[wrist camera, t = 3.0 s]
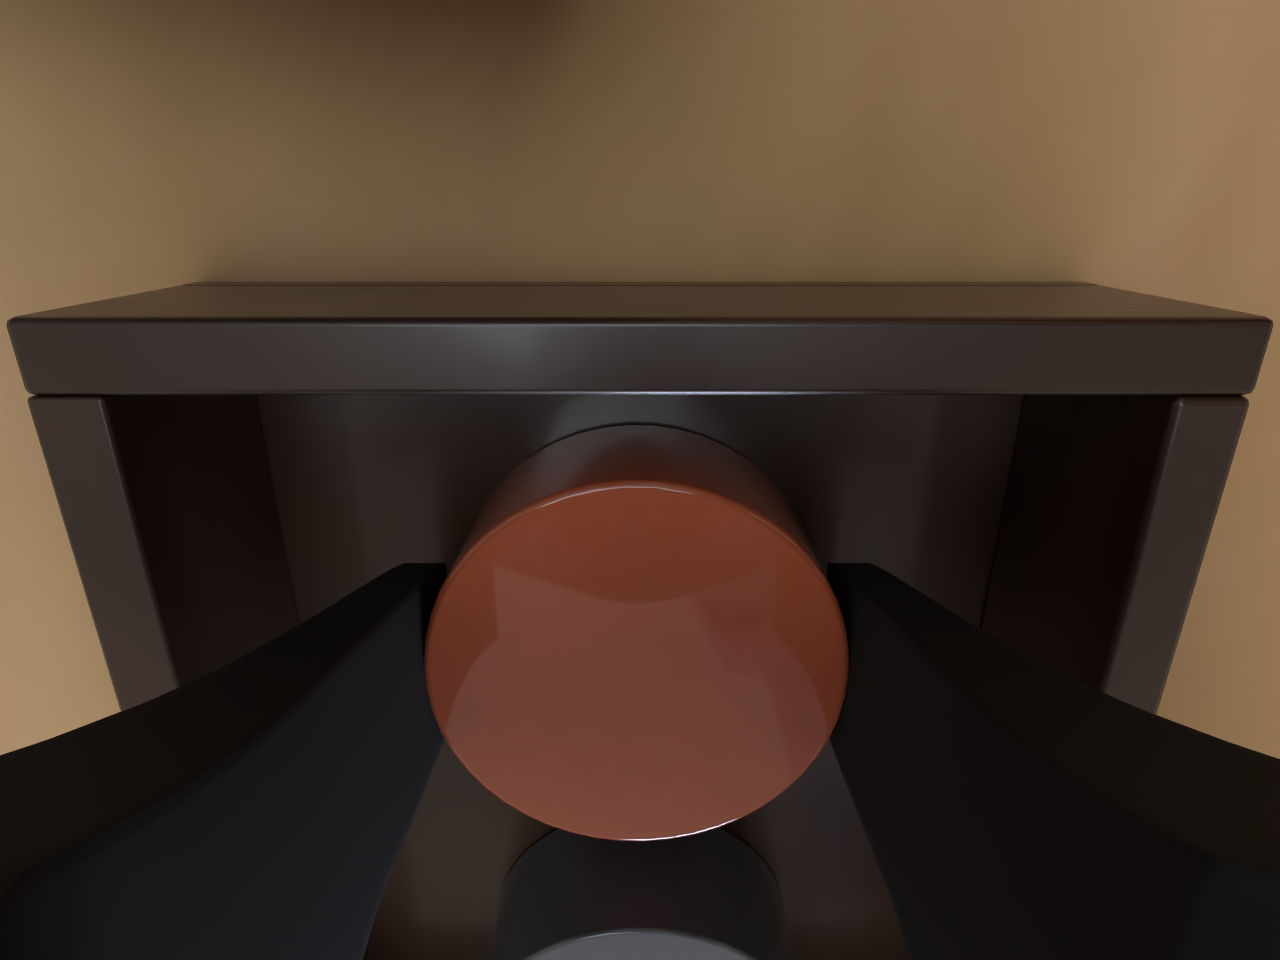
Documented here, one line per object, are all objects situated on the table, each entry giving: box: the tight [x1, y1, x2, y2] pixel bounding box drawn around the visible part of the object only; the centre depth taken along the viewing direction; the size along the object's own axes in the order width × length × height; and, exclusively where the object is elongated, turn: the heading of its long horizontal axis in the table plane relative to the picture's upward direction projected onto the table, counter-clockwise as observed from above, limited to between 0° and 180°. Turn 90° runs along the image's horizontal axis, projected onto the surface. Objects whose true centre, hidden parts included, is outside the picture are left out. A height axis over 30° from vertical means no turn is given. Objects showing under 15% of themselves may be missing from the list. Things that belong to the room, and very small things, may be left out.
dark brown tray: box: [7, 282, 1273, 960], centre depth 12 cm, size 17×13×3 cm
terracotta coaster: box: [424, 425, 849, 841], centre depth 11 cm, size 6×6×2 cm
